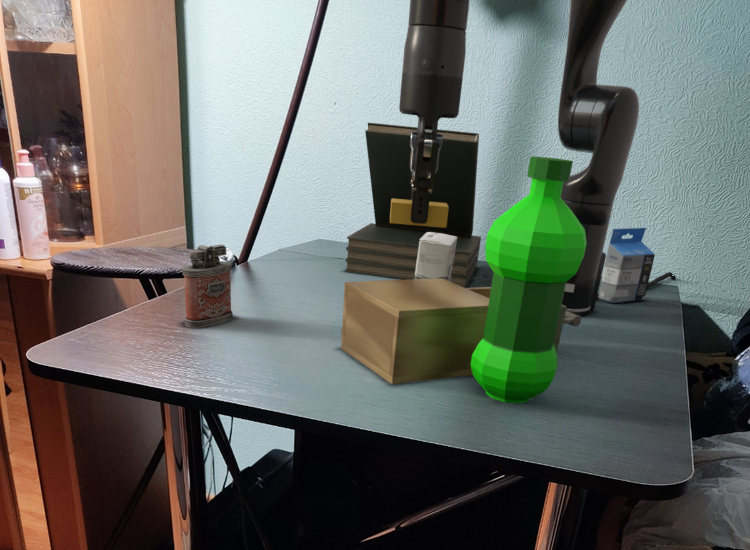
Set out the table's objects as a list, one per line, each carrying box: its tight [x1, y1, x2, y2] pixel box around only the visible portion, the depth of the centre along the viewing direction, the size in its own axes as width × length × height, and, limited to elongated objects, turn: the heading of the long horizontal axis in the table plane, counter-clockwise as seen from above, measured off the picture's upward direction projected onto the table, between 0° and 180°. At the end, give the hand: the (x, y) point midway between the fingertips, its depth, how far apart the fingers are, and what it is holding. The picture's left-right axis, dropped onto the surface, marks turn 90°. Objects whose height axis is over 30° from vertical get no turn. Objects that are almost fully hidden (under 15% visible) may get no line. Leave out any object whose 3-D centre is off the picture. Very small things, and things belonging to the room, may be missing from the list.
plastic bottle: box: [471, 156, 587, 405], centre depth 78 cm, size 10×10×25 cm
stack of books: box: [344, 122, 482, 288], centre depth 135 cm, size 23×20×25 cm
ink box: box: [414, 232, 457, 281], centre depth 108 cm, size 9×5×12 cm, turn 168°
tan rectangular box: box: [340, 278, 489, 385], centre depth 90 cm, size 15×14×9 cm
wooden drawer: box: [466, 286, 582, 354], centre depth 96 cm, size 19×12×7 cm, turn 118°
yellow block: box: [390, 198, 449, 228], centre depth 96 cm, size 4×8×3 cm, turn 89°
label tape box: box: [597, 227, 656, 304], centre depth 130 cm, size 9×4×12 cm, turn 123°
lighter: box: [182, 244, 233, 329], centre depth 98 cm, size 8×3×10 cm, turn 148°
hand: (418, 219), depth 97 cm, fingers closed on yellow block, 4 cm apart
